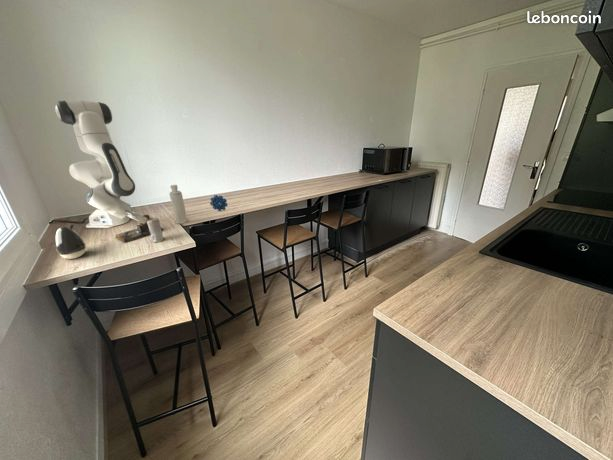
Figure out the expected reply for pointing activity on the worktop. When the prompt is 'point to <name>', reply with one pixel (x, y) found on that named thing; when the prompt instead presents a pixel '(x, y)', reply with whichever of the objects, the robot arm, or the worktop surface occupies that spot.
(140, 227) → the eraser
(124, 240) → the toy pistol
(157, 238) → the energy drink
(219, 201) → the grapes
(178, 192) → the white bottle
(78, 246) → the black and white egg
